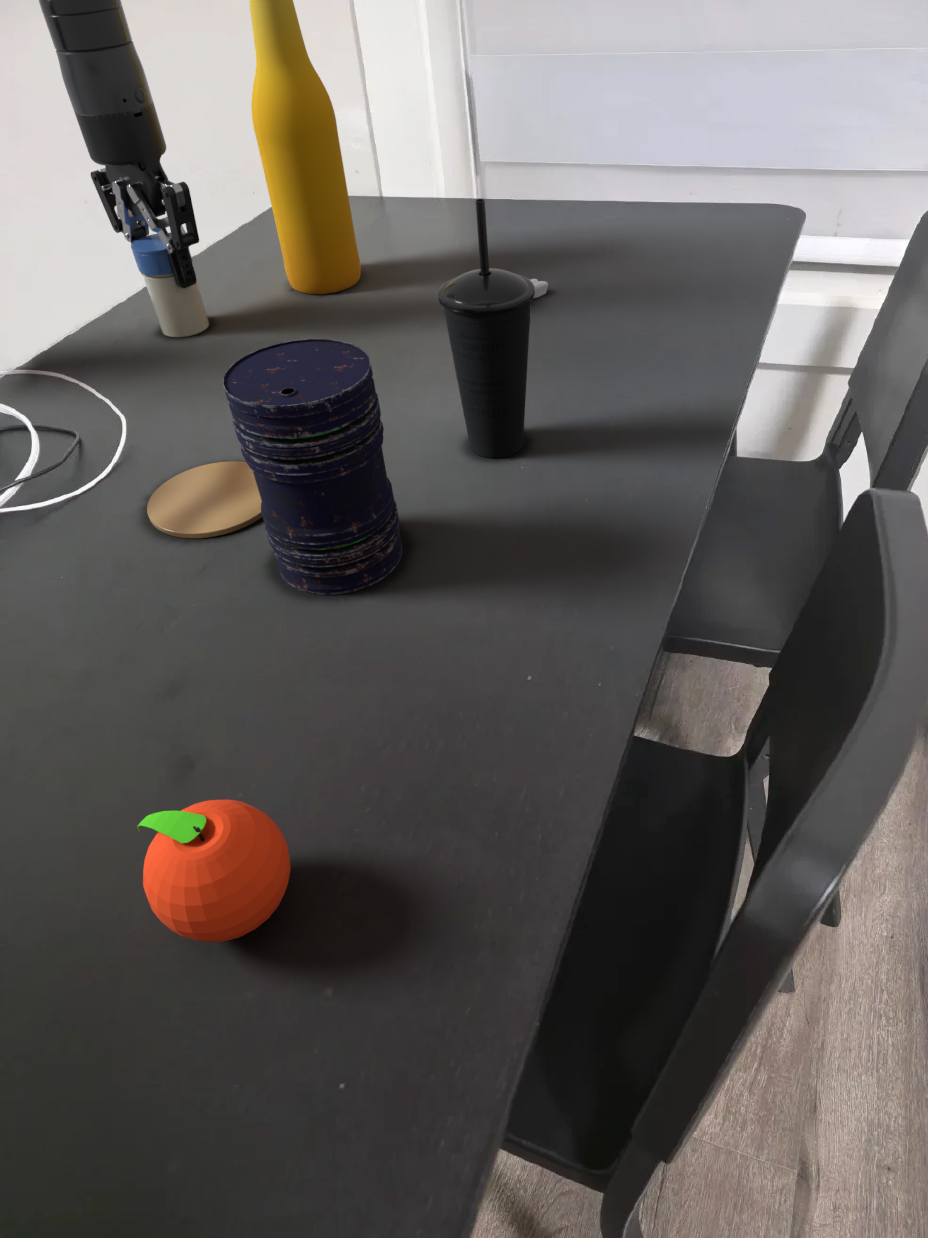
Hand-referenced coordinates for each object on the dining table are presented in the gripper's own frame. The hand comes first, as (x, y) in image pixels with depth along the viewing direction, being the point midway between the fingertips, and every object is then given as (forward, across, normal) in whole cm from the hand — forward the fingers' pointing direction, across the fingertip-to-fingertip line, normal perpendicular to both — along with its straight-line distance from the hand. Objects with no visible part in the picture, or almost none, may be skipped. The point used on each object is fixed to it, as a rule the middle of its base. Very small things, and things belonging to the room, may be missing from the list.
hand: (169, 279), depth 94 cm
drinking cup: (+6, +47, -2) cm, 48 cm away
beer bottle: (+6, +4, +19) cm, 20 cm away
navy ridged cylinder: (+6, +47, -22) cm, 52 cm away
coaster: (+5, +32, -22) cm, 39 cm away
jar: (+5, 0, 0) cm, 5 cm away
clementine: (+6, +64, -46) cm, 79 cm away
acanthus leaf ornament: (+6, +28, +25) cm, 38 cm away
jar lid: (-4, 0, 0) cm, 4 cm away
